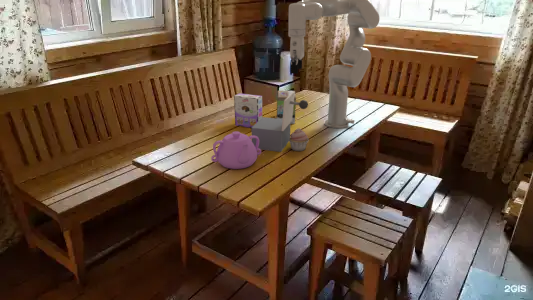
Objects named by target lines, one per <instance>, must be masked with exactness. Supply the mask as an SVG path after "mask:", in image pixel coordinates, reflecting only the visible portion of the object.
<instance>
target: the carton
mask: <svg viewBox="0 0 533 300" xmlns="http://www.w3.org/2000/svg"><path fill="white" fill-rule="evenodd" d="M282 120H283V119H277V117H274V118H273V117H264V116H262V118H261V119H260V120H259V121H258V122H257V123H256V124H255V125H254V126H253V127H252V128H251V136H252V135H255V136H257V137H258V138H259V146H258V148H260V149H261V151H263V150H264V151H271V152H278V153H279V152H280V153H281V152H283V150H284V148H285V147H286V146H287V145H288V144H289V143H290V142H289V138H290V137H291V124H289V125H288V126H287V127H286V128H285V130H284V131H282ZM290 123H291V122H290ZM251 141H252V142H253V144H254V146H256V141H257V140H256V138H252V139H251Z"/></svg>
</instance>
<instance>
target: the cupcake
mask: <svg viewBox="0 0 533 300" xmlns="http://www.w3.org/2000/svg"><path fill="white" fill-rule="evenodd" d="M309 141H310V140H309V137H308V134H306V132H305V131H304V130H302V129H301V128H300V127H299V128H296V129H295V130H294V131H293V132H292V133H290V138H289V142H288V143H289V144H290V148H291V150H292V151H295V152H302V151H305V150H306V147H307V145H308V143H309Z"/></svg>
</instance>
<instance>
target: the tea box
mask: <svg viewBox="0 0 533 300" xmlns="http://www.w3.org/2000/svg"><path fill="white" fill-rule="evenodd" d="M292 92H295V93H296V90H277V95H276V119H283V108H284V100H285V99H286V98H287V97H288V96H289V95H290V94H291V93H292ZM294 102H297V95H296V94H295V95H294ZM296 107H297V105H294V106H293V116H292V121H291V123H290V125H291V124H292V125H293V124H295V123H296V109H297V108H296Z"/></svg>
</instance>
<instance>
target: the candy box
mask: <svg viewBox="0 0 533 300" xmlns="http://www.w3.org/2000/svg"><path fill="white" fill-rule="evenodd" d="M233 102H234V103H233V104H234V125H235V126H237V127H244V128H250V129H252V127H253V126H254V125H255V124H256V123H257V122H258V121H259V120H260V119H261V118H262V117H263V95H257V94H248V93H239V92H238V93H237V94H235V95H234V96H233Z"/></svg>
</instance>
